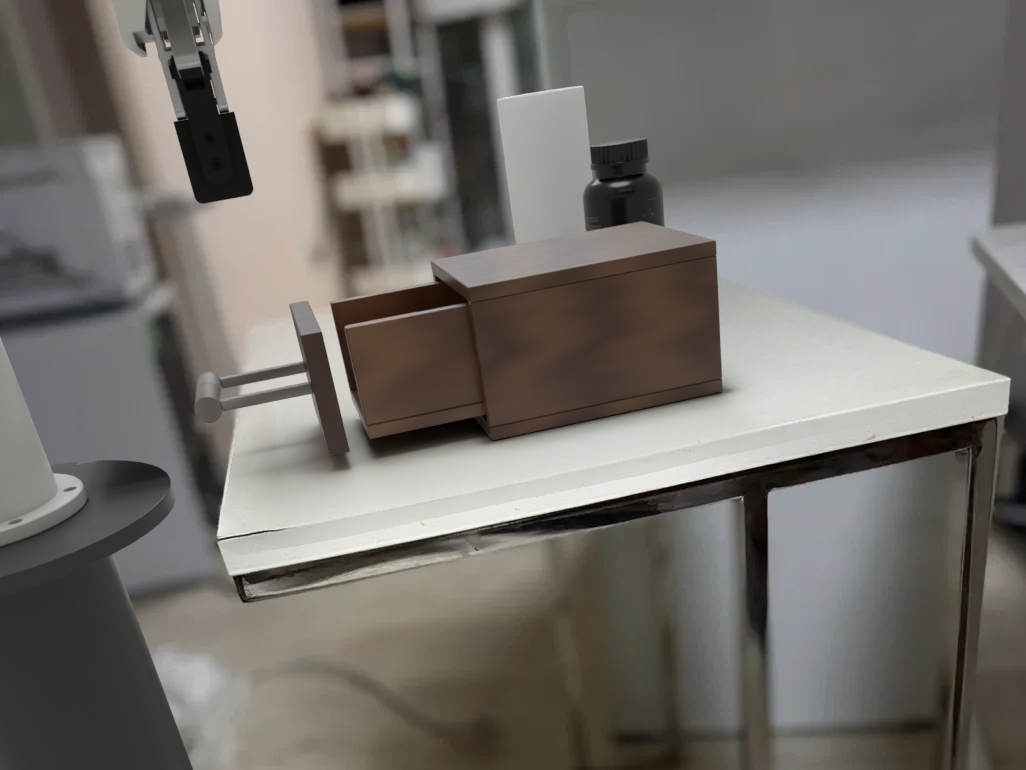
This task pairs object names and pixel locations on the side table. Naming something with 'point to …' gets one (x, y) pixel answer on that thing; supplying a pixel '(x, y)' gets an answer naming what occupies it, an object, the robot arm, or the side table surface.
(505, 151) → the tall white panel
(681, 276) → the cabinet
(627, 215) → the supplement bottle
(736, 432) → the side table surface
